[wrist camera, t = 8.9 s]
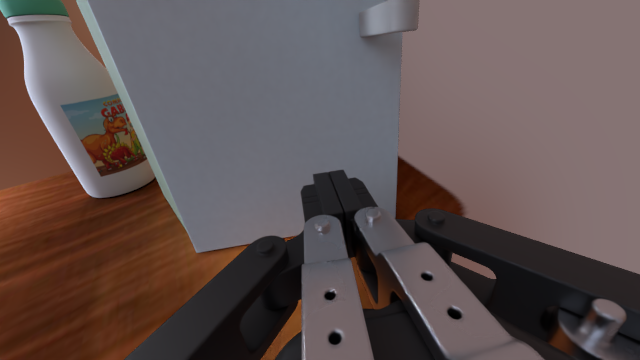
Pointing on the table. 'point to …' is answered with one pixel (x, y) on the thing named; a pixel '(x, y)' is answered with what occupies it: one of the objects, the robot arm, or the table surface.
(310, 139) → the cabinet door
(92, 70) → the milk bottle
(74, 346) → the table surface
